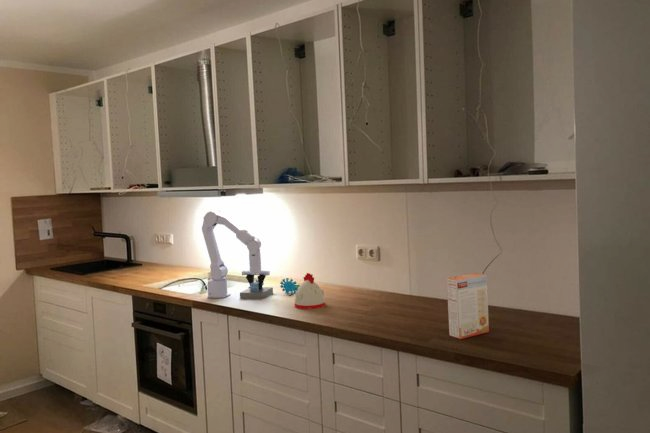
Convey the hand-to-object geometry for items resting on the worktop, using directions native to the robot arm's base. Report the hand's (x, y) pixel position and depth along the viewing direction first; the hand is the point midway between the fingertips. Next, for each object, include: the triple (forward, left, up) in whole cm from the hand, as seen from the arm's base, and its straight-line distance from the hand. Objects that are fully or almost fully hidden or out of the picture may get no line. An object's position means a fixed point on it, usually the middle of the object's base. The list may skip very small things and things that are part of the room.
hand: (256, 289), depth 264 cm
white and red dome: (+34, -17, -4) cm, 38 cm away
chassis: (0, 0, -3) cm, 3 cm away
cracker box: (+105, -53, -4) cm, 118 cm away
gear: (+16, +8, -4) cm, 18 cm away
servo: (0, 0, -2) cm, 2 cm away
